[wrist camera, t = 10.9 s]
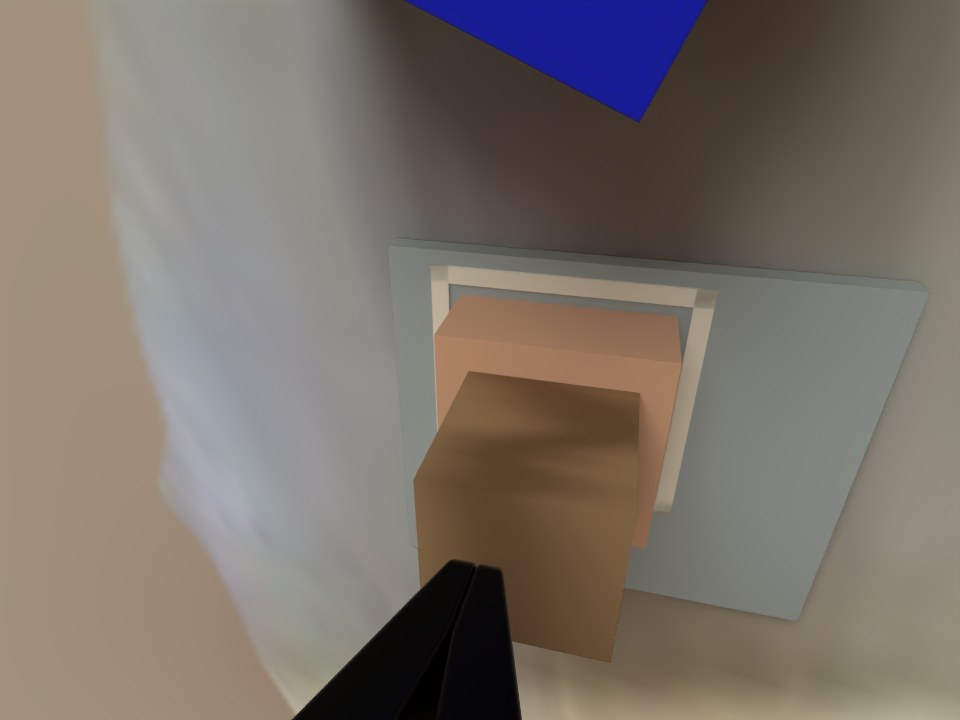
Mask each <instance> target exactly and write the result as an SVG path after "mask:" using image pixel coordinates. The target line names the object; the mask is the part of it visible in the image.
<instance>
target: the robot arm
mask: <svg viewBox="0 0 960 720" xmlns="http://www.w3.org/2000/svg"><path fill="white" fill-rule="evenodd" d="M292 720H522V717H521V709H520V701H519V693H518V685H517V678H516V670H515V662H514V654H513V646H512V638H511V630H510V622H509V614H508V606H507V598H506V590H505V582H504V575H503V571H502V569H501V568H499V567H494V566H489V565H484V564H479V565H478V566H477V567H476V565H475V564H474V563H473V562H469V561H464V560H458V559H452V560H449V561H448V562H447V563H446V564H445V565H444V566H443V567H442V568H441V569H440V570H439V571H438V572H437V573H436V574H435V575H434V576H433V577H432V578H431V579H430V580H429V581H428V582H427V583H426V584H425V585H424V586H423V587H422V588H421V589H420V590H419V591H418V592H417V593H416V594H415V595H414V596H413V597H412V598H411V599H410V600H409V601H408V602H407V603H406V604H405V605H404V607H403V608H402V609H401V610H400V611H399V612H398V613H397V614H396V615H395V616H394V617H393V618H392V619H391V620H390V621H389V622H388V623H387V624H386V625H385V626H384V627H383V628H382V629H381V630H380V631H379V632H378V633H377V634H376V635H375V636H374V637H373V638H372V639H371V640H370V641H369V642H368V643H367V644H366V645H365V646H364V647H363V648H362V649H361V650H360V651H359V652H358V653H357V654H356V655H355V656H354V657H353V658H352V659H351V660H350V661H349V662H348V663H347V664H346V665H345V666H344V667H343V668H342V669H341V670H340V671H339V672H338V673H337V674H336V675H335V676H334V677H333V678H332V679H331V680H330V681H329V682H328V684H327V685H326V686H325V687H324V688H323V689H322V690H321V691H320V692H319V693H318V694H317V695H316V696H315V697H314V698H313V699H312V700H311V701H310V702H309V703H308V704H307V705H306V706H305V707H304V708H303V709H302V710H301V711H300V712H299V713H298V714H297V715H296V716H295V717H294V718H293V719H292Z"/></svg>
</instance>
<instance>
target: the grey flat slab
mask: <svg viewBox="0 0 960 720" xmlns="http://www.w3.org/2000/svg"><path fill="white" fill-rule="evenodd" d="M388 258H389V271H390V284H391V297H392V309H393V322H394V335H395V348H396V361H397V374H398V387H399V400H400V413H401V426H402V438H403V451H404V464H405V477H406V490H407V503H408V516H409V529H410V542H411V547H415V548H418V543H417V529H416V514H415V500H414V485H413V479H414V477H415V475H416V473H417V471H418V469H419V467H420V465H421V463H422V461H423V459H424V457H425V455H426V453H427V451H428V450H429V448H430V446H431V444H432V442H433V440H434V438H435V436H436V434H437V432H438V422H437V397H436V373H435V348H434V334H435V333H436V331H437V330H438V328H439V327H440V325H441V324H442V322H443V321H444V319H445V318H446V316H447V315H448V313H449V312H450V310H451V309H452V307H453V306H454V304H455V303H456V301H457V300H458V298H459V297H460V295H469V296H479V297H489V298H499V299H509V300H519V301H529V302H538V303H548V304H558V305H568V306H578V307H588V308H598V309H607V310H617V311H627V312H637V313H647V314H657V315H667V316H676V317H678V326H679V337H680V348H681V359H682V366H681V371H680V376H679V381H678V386H677V391H676V397H675V402H674V407H673V412H672V417H671V422H670V427H669V432H668V438H667V443H666V448H665V453H664V458H663V463H662V468H661V473H660V479H659V484H658V489H657V494H656V499H655V504H654V509H653V515H652V520H651V525H650V530H649V535H648V540H647V545H646V548H641V547H636V546H631V551H630V556H629V562H628V568H627V573H626V579H625V585H624V588H627V589H632V590H638V591H643V592H648V593H653V594H658V595H663V596H669V597H674V598H679V599H684V600H689V601H694V602H700V603H705V604H710V605H715V606H720V607H725V608H731V609H736V610H741V611H746V612H751V613H756V614H762V615H767V616H772V617H777V618H782V619H787V620H793V621H797V620H798V618H799V615H800V613H801V611H802V608H803V606H804V603H805V601H806V598H807V596H808V593H809V591H810V588H811V586H812V583H813V581H814V578H815V576H816V573H817V571H818V568H819V566H820V564H821V561H822V559H823V556H824V554H825V551H826V549H827V546H828V544H829V541H830V539H831V536H832V534H833V531H834V529H835V526H836V524H837V522H838V519H839V517H840V514H841V512H842V509H843V507H844V504H845V502H846V499H847V497H848V494H849V492H850V489H851V487H852V484H853V482H854V480H855V477H856V475H857V472H858V470H859V467H860V465H861V462H862V460H863V457H864V455H865V452H866V450H867V447H868V445H869V442H870V440H871V437H872V435H873V433H874V430H875V428H876V425H877V423H878V420H879V418H880V415H881V413H882V410H883V408H884V405H885V403H886V400H887V398H888V395H889V393H890V391H891V388H892V386H893V383H894V381H895V378H896V376H897V373H898V371H899V368H900V366H901V363H902V361H903V358H904V356H905V353H906V351H907V348H908V346H909V344H910V341H911V339H912V336H913V334H914V331H915V329H916V326H917V324H918V321H919V319H920V316H921V314H922V311H923V309H924V306H925V304H926V302H927V299H928V297H929V294H930V292H929V291H928V290H927V289H926V288H925V287H924V286H923V285H922V284H921V283H920V282H917V281H905V280H893V279H881V278H869V277H857V276H845V275H833V274H821V273H809V272H797V271H785V270H773V269H761V268H749V267H737V266H725V265H713V264H702V263H690V262H678V261H666V260H654V259H642V258H630V257H618V256H606V255H594V254H582V253H570V252H558V251H546V250H534V249H522V248H510V247H498V246H486V245H474V244H462V243H450V242H438V241H426V240H414V239H402V238H396V239H394V240H393V241H392V242H391V243H390V244H389V245H388Z"/></svg>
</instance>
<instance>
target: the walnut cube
mask: <svg viewBox="0 0 960 720" xmlns="http://www.w3.org/2000/svg"><path fill="white" fill-rule="evenodd" d="M639 408H640V393H637V392H629V391H621V390H613V389H605V388H598V387H590V386H582V385H574V384H566V383H559V382H551V381H543V380H535V379H527V378H520V377H512V376H504V375H496V374H488V373H481V372H473V371H468V373H467V375H466V377H465V379H464V381H463V383H462V385H461V387H460V389H459V390H458V392H457V394H456V396H455V398H454V400H453V402H452V404H451V406H450V408H449V410H448V412H447V414H446V416H445V418H444V420H443V422H442V424H441V426H440V428H439V430H438V432H437V434H436V436H435V438H434V440H433V442H432V444H431V446H430V448H429V450H428V451H427V453H426V455H425V457H424V459H423V461H422V463H421V465H420V467H419V469H418V471H417V473H416V475H415V477H414V479H413V485H414V500H415V514H416V529H417V543H418V558H419V572H420V587H421V588H422V587H423V586H424V585H425V584H426V583H427V582H428V581H429V580H430V579H431V578H432V577H433V576H434V575H435V574H436V573H437V572H438V571H439V570H440V569H441V568H442V567H443V566H444V565H445V564H446V563H447V562H448V561H449V560H452V559H458V560H464V561H469V562H473V563H474V564H475V565H476V567H477V566H478V565H479V564H484V565H489V566H494V567H499V568H501V569H502V571H503V575H504V582H505V590H506V598H507V606H508V614H509V622H510V630H511V638H512V641H513V642H518V643H522V644H527V645H532V646H536V647H541V648H545V649H550V650H554V651H559V652H563V653H568V654H573V655H577V656H582V657H586V658H591V659H595V660H600V661H604V662H609V663H611V658H612V652H613V646H614V641H615V635H616V629H617V624H618V618H619V613H620V607H621V601H622V596H623V590H624V585H625V579H626V573H627V568H628V562H629V556H630V551H631V545H632V540H633V534H634V528H635V523H636V514H637V479H638V443H639Z"/></svg>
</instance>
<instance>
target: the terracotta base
mask: <svg viewBox="0 0 960 720" xmlns="http://www.w3.org/2000/svg"><path fill="white" fill-rule="evenodd" d="M434 348H435V373H436V397H437V422H438V430H439V428H440V426H441V424H442V422H443V420H444V418H445V416H446V414H447V412H448V410H449V408H450V406H451V404H452V402H453V400H454V398H455V396H456V394H457V392H458V390H459V389H460V387H461V385H462V383H463V381H464V379H465V377H466V375H467V373H468V371H473V372H481V373H488V374H496V375H504V376H512V377H520V378H527V379H535V380H543V381H551V382H559V383H566V384H574V385H582V386H590V387H598V388H605V389H613V390H621V391H629V392H637V393H640V408H639V443H638V479H637V514H636V523H635V528H634V534H633V540H632V545H631V546H636V547H641V548H646V545H647V540H648V535H649V530H650V525H651V520H652V515H653V509H654V504H655V499H656V494H657V489H658V484H659V479H660V473H661V468H662V463H663V458H664V453H665V448H666V443H667V438H668V432H669V427H670V422H671V417H672V412H673V407H674V402H675V397H676V391H677V386H678V381H679V376H680V371H681V366H682V359H681V348H680V337H679V326H678V317H676V316H667V315H657V314H647V313H637V312H627V311H617V310H607V309H598V308H588V307H578V306H568V305H558V304H548V303H538V302H529V301H519V300H509V299H499V298H489V297H479V296H469V295H460V297H459V298H458V300H457V301H456V303H455V304H454V306H453V307H452V309H451V310H450V312H449V313H448V315H447V316H446V318H445V319H444V321H443V322H442V324H441V325H440V327H439V328H438V330H437V331H436V333H435V334H434Z"/></svg>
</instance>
